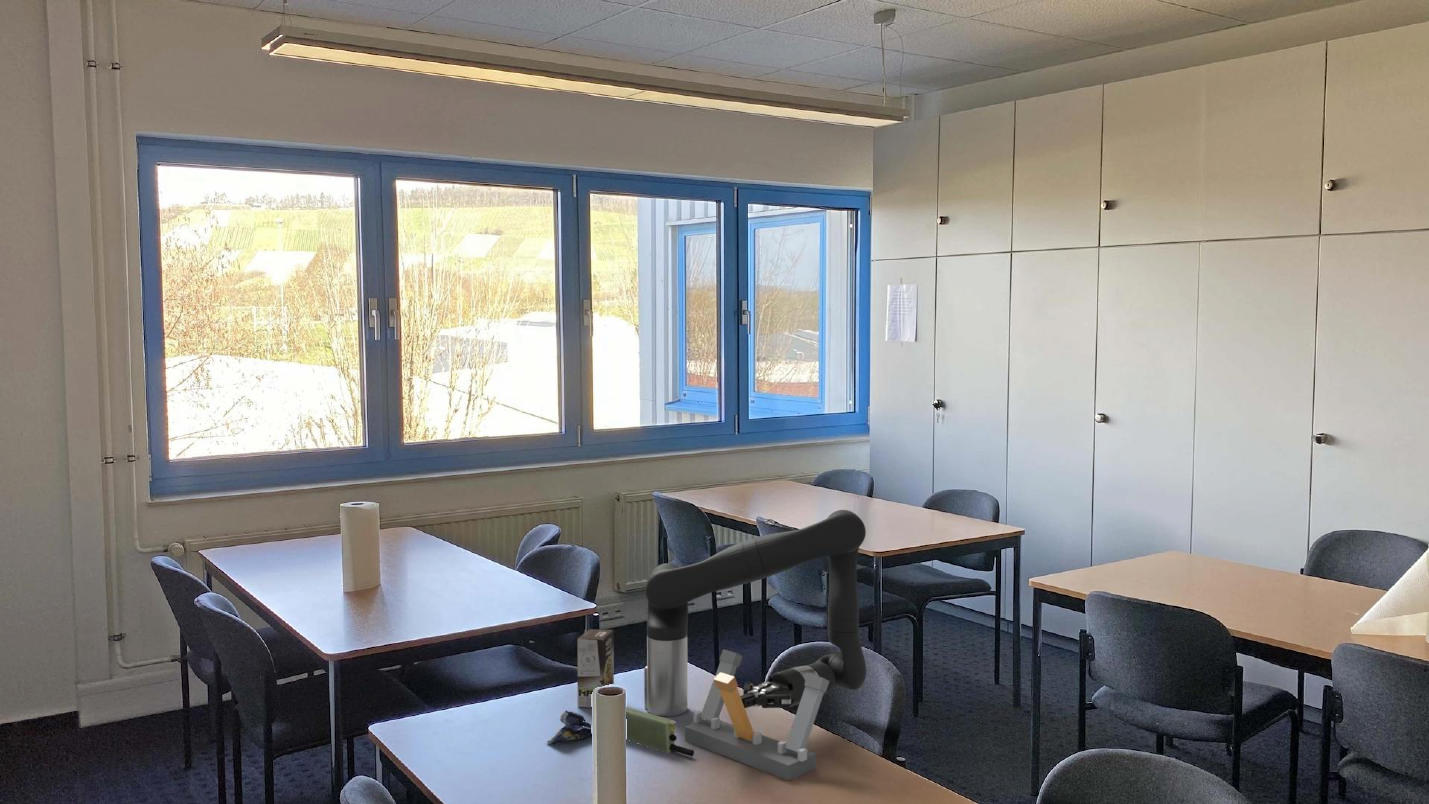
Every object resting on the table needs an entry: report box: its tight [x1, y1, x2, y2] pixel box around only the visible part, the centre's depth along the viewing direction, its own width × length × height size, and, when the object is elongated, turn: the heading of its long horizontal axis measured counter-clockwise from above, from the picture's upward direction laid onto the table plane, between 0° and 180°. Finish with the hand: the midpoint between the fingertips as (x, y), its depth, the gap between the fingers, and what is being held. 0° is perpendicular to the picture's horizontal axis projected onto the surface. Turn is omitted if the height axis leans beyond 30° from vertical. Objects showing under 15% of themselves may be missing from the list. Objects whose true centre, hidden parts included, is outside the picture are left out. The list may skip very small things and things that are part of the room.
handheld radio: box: [625, 706, 695, 757], centre depth 221 cm, size 7×3×25 cm
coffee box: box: [576, 628, 615, 709], centre depth 247 cm, size 9×6×16 cm
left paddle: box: [700, 648, 743, 721], centre depth 226 cm, size 4×2×15 cm, turn 45°
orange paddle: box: [712, 672, 755, 741], centre depth 212 cm, size 4×2×15 cm, turn 45°
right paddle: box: [785, 674, 829, 753], centre depth 209 cm, size 4×2×15 cm, turn 45°
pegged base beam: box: [684, 710, 816, 782], centre depth 215 cm, size 30×8×5 cm, turn 45°
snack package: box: [546, 709, 592, 745], centre depth 225 cm, size 12×6×12 cm
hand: (738, 703), depth 213 cm, fingers closed
